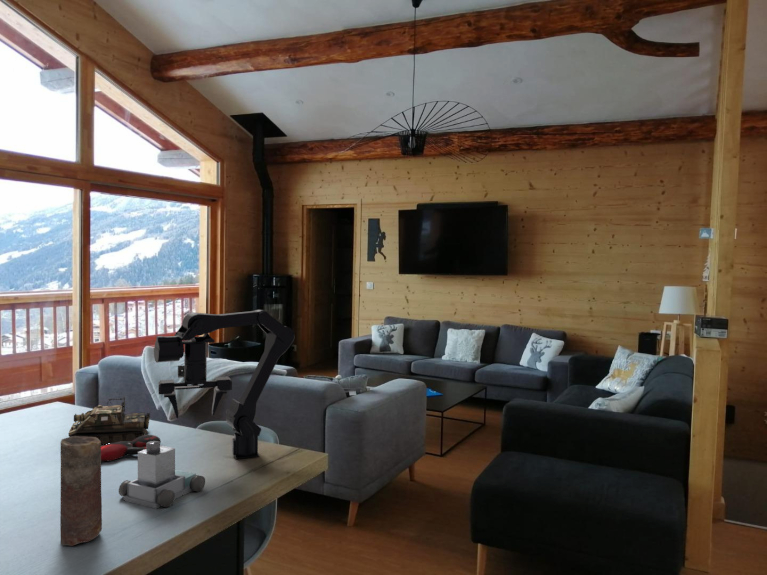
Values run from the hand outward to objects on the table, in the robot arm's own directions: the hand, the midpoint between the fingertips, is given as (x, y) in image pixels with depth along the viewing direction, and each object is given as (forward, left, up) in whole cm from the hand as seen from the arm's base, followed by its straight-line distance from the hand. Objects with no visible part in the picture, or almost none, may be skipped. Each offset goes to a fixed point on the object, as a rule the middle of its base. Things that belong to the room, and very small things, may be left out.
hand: (195, 416), depth 159 cm
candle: (+24, +37, -13) cm, 46 cm away
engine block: (+10, +20, -12) cm, 25 cm away
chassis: (+8, +19, -13) cm, 24 cm away
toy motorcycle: (+21, -14, -14) cm, 28 cm away
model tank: (+23, -32, -14) cm, 41 cm away
